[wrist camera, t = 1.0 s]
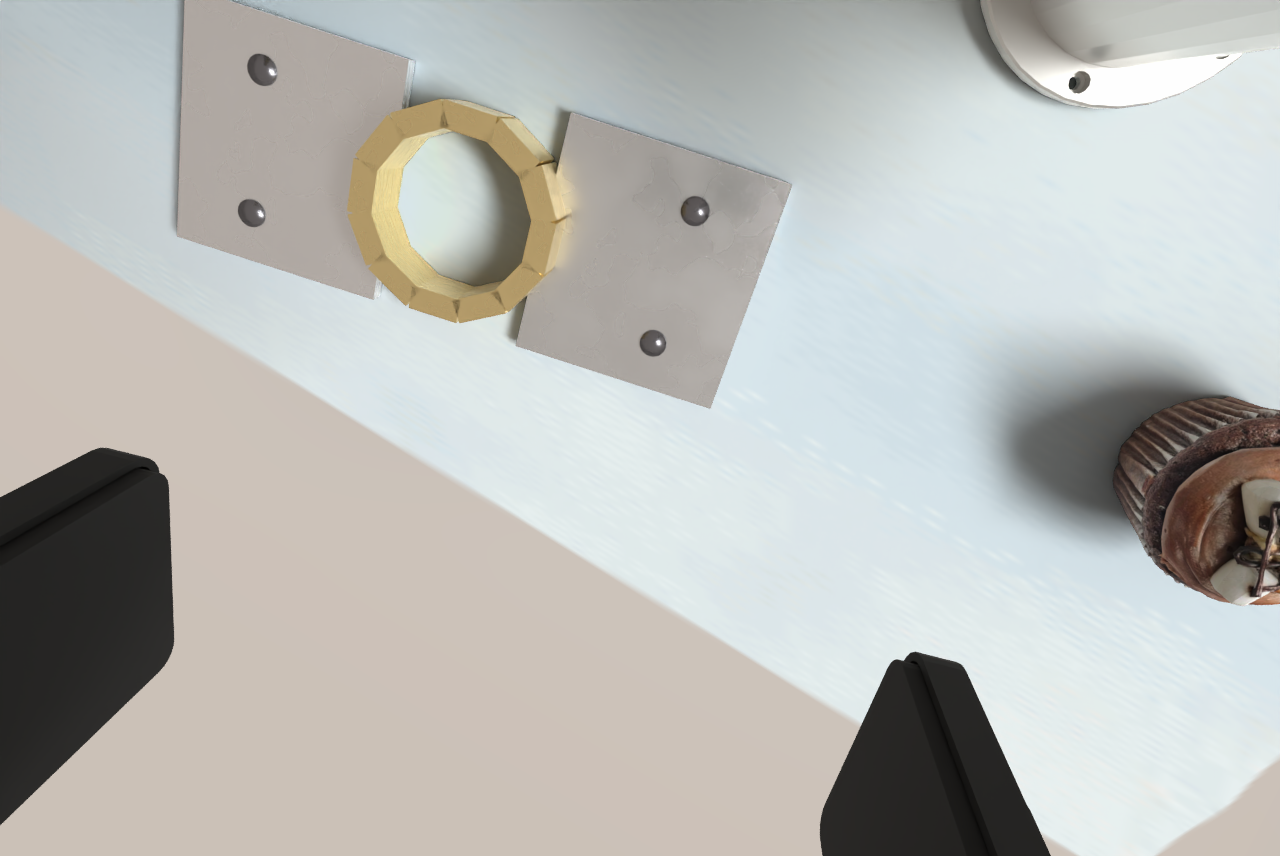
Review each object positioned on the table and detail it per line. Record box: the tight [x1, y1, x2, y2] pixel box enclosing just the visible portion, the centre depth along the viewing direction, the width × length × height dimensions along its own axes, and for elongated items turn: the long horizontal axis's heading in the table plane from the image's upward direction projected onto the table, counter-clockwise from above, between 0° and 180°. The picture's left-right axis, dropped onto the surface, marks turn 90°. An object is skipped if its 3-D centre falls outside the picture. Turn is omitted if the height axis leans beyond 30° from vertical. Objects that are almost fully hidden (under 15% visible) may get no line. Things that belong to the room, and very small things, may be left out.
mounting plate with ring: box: [177, 0, 792, 408], centre depth 36 cm, size 12×30×3 cm, turn 73°
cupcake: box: [1113, 397, 1280, 606], centre depth 34 cm, size 10×10×10 cm
